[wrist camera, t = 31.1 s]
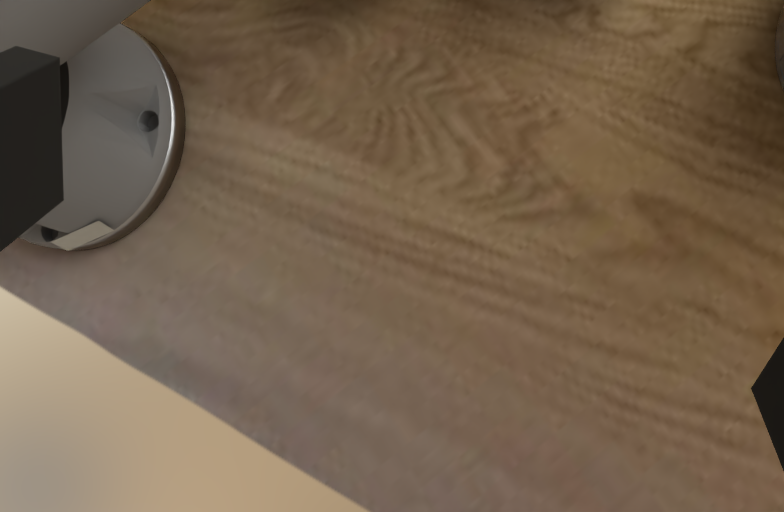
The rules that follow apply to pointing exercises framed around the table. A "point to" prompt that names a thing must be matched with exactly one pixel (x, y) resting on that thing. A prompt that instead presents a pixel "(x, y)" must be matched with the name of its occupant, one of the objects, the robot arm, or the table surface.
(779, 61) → the bowl
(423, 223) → the table surface
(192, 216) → the table surface
